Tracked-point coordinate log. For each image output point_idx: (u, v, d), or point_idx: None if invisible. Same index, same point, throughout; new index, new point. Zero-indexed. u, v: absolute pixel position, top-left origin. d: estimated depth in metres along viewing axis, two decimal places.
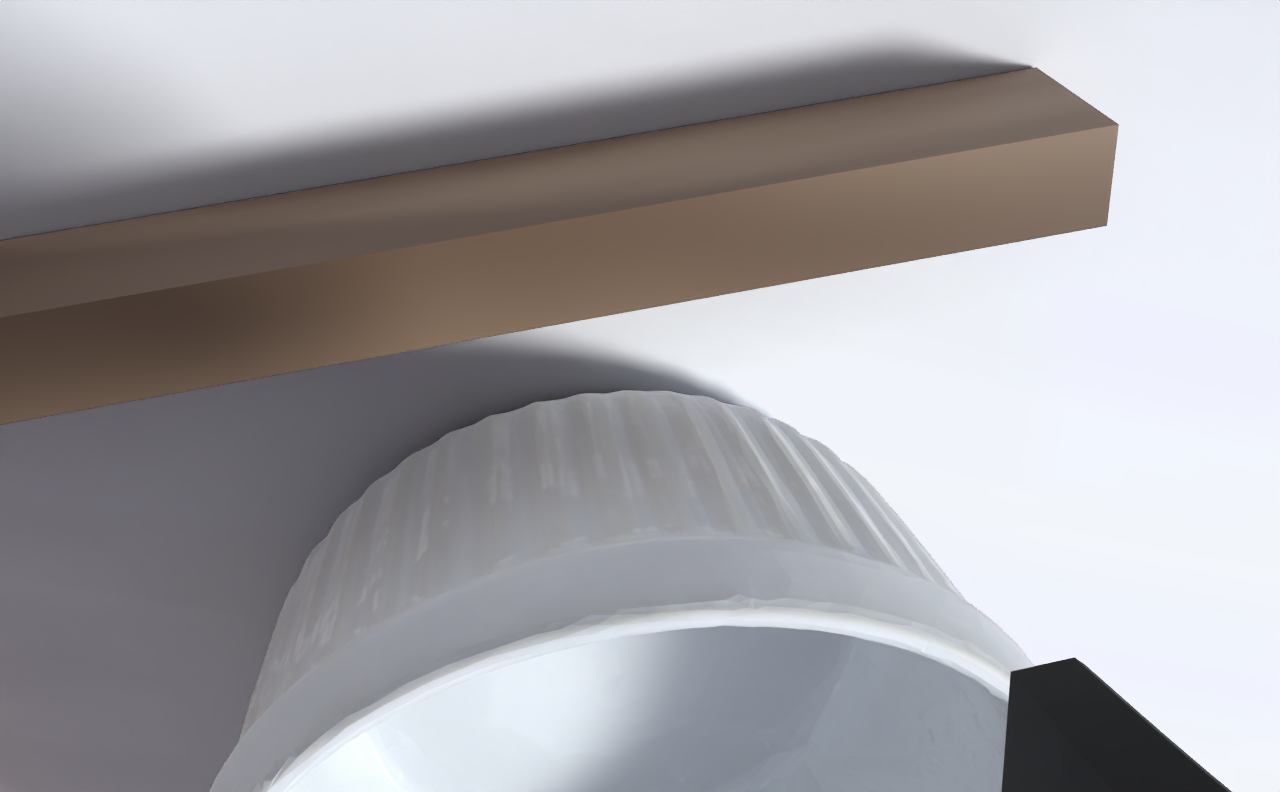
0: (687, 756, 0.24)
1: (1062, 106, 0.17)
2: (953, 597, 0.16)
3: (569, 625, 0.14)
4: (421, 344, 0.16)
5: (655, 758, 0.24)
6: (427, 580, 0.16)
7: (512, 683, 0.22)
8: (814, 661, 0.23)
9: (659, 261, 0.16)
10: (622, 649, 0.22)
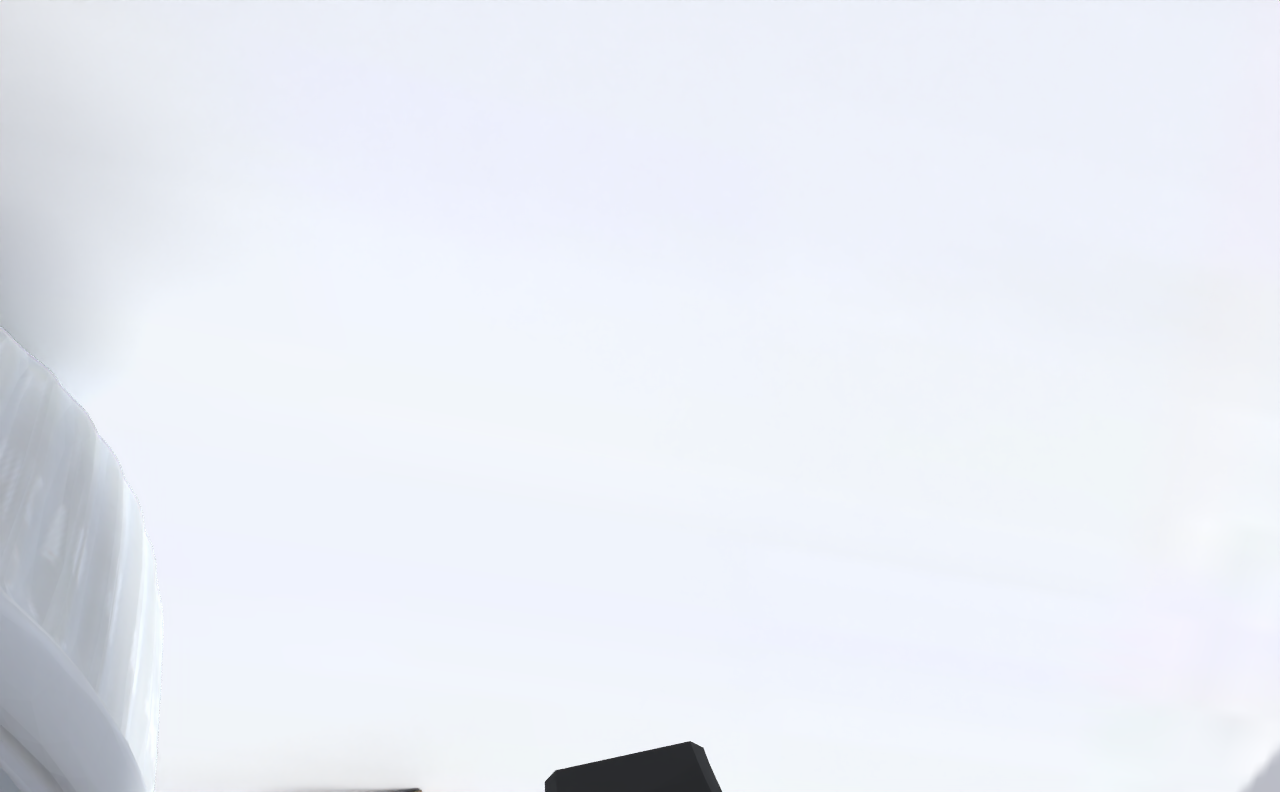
0: None
1: None
2: None
3: None
4: None
5: None
6: None
7: None
8: None
9: None
10: None
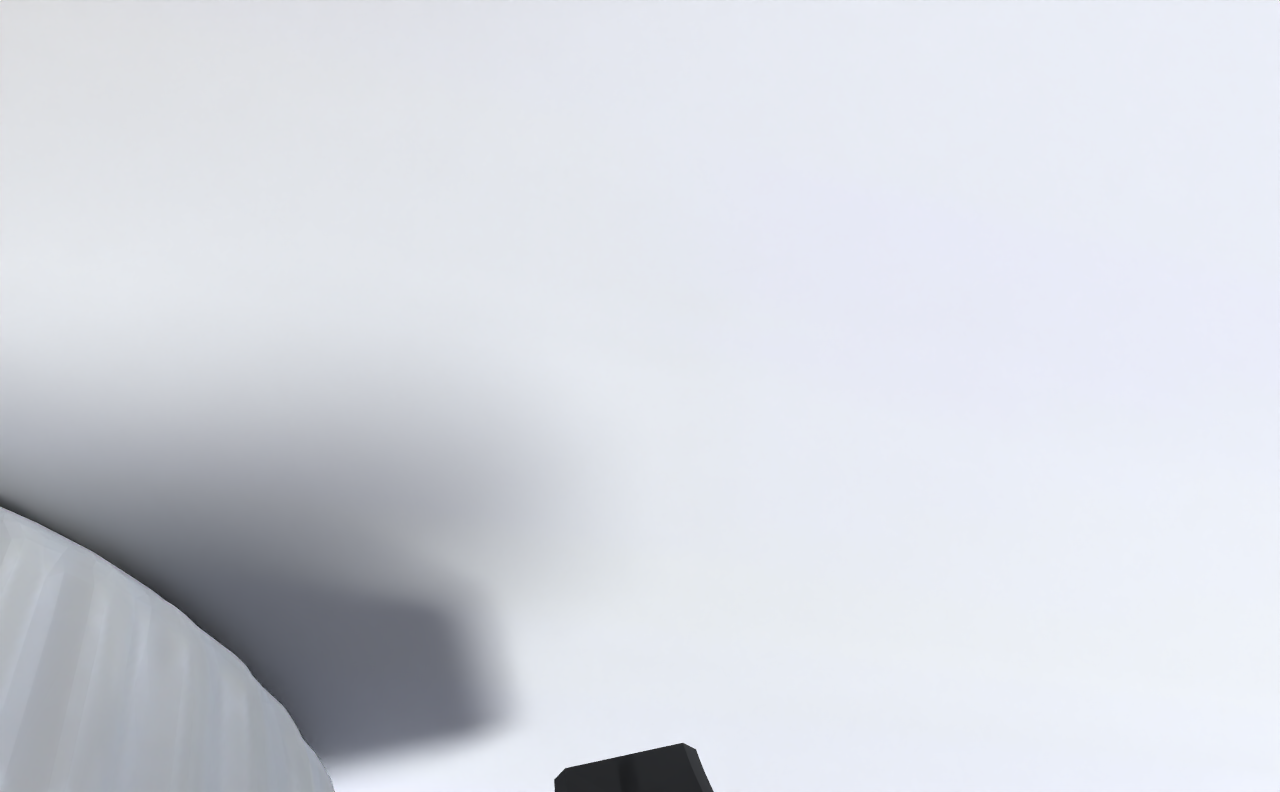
0: None
1: None
2: None
3: None
4: None
5: None
6: None
7: None
8: None
9: None
10: None
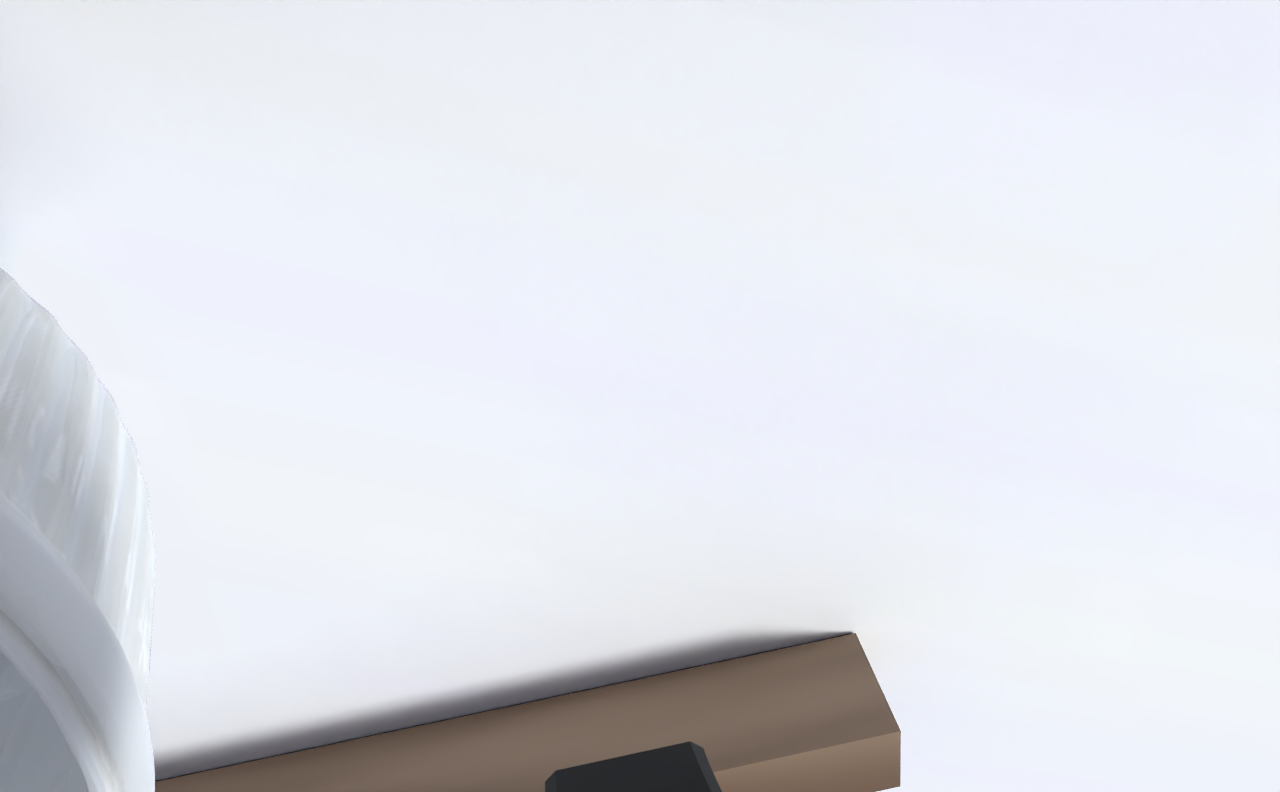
0: None
1: None
2: None
3: None
4: None
5: None
6: None
7: None
8: None
9: None
10: None
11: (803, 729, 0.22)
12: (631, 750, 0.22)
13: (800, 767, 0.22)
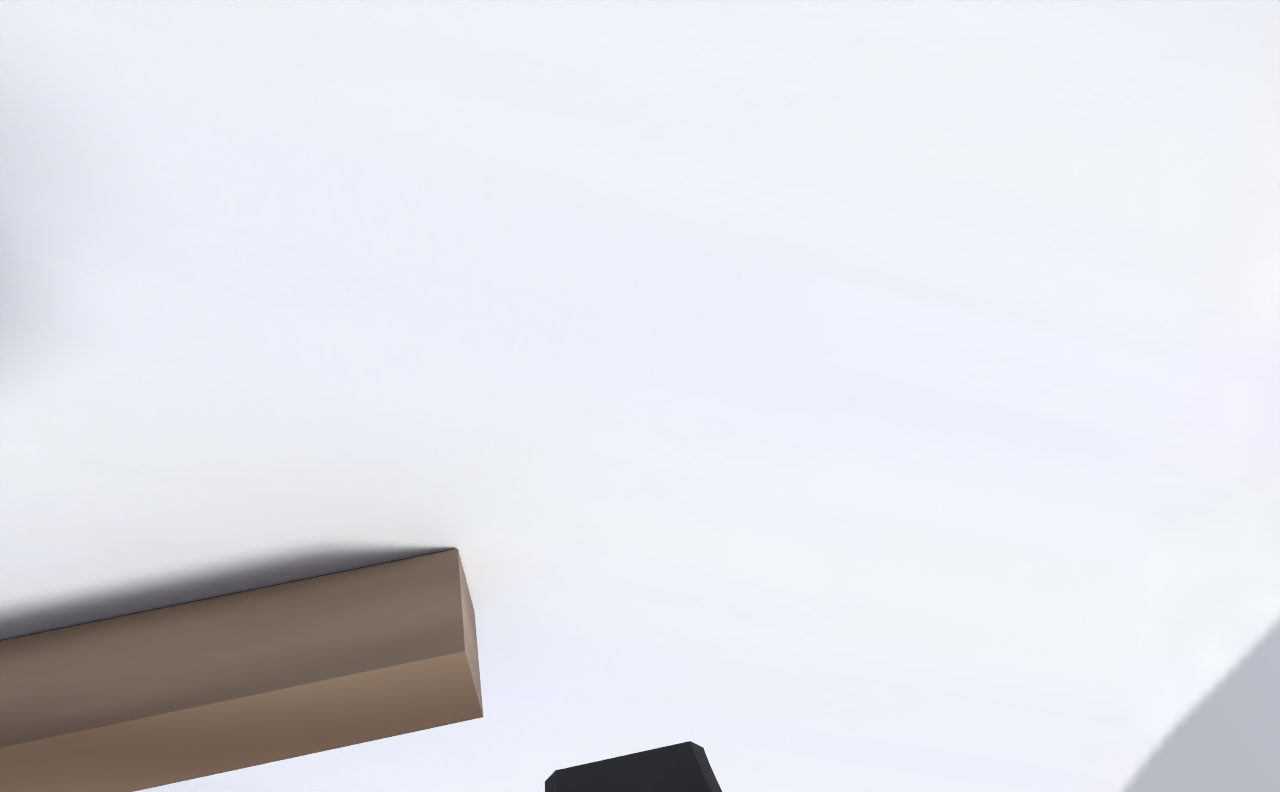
0: None
1: None
2: None
3: None
4: None
5: None
6: None
7: None
8: None
9: None
10: None
11: (360, 650, 0.19)
12: (166, 674, 0.19)
13: (352, 692, 0.19)
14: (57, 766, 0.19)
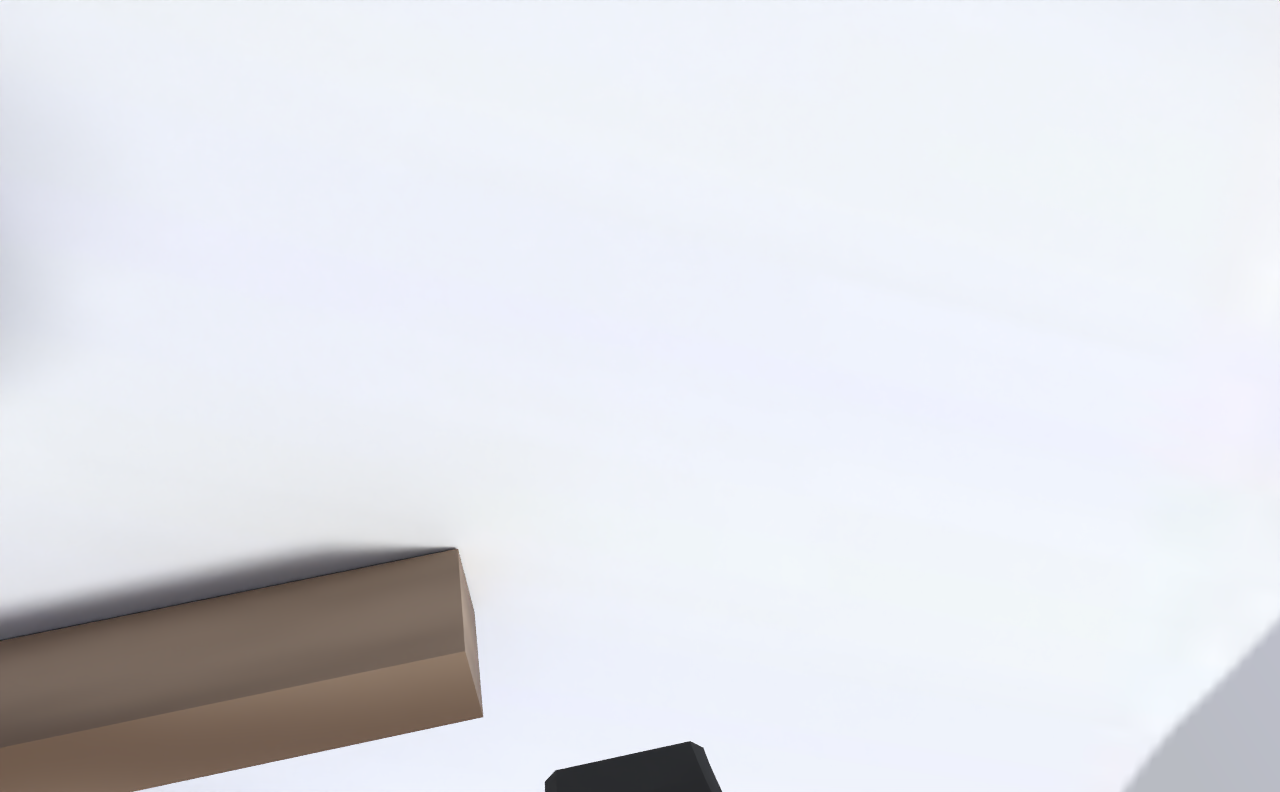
0: None
1: None
2: None
3: None
4: None
5: None
6: None
7: None
8: None
9: None
10: None
11: (360, 650, 0.19)
12: (166, 674, 0.19)
13: (352, 692, 0.19)
14: (57, 766, 0.19)
